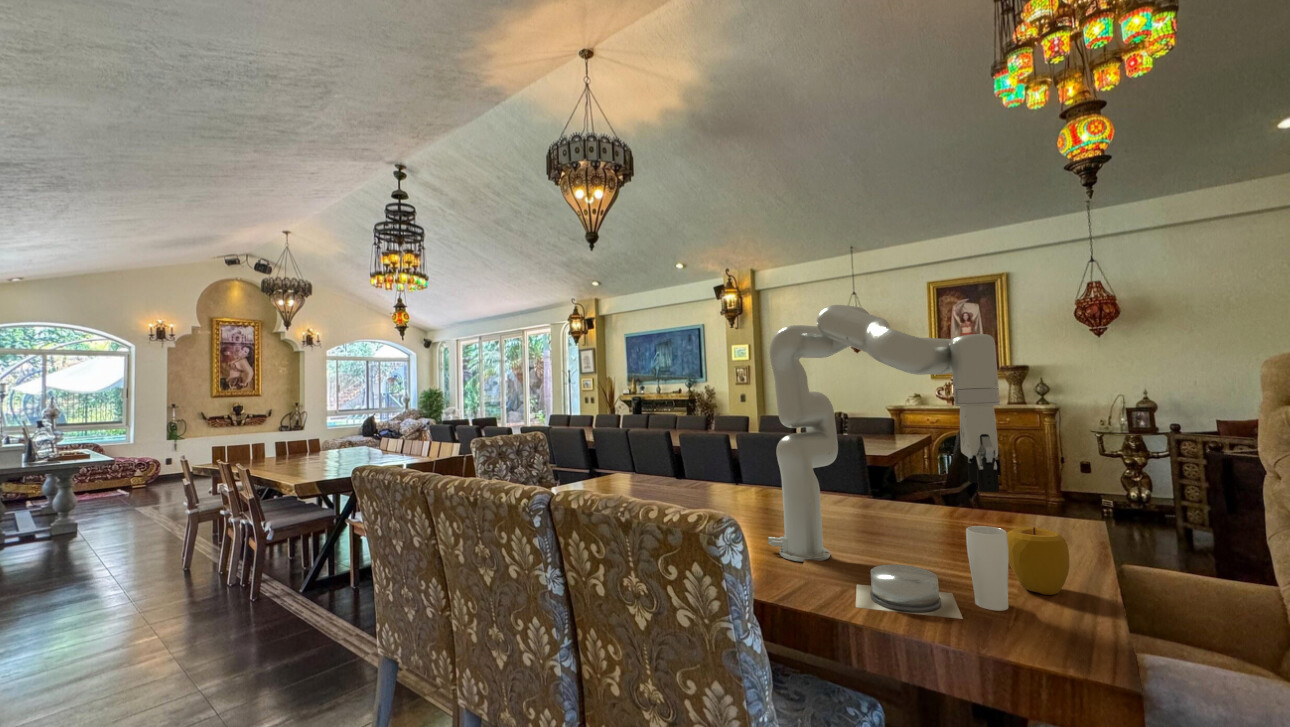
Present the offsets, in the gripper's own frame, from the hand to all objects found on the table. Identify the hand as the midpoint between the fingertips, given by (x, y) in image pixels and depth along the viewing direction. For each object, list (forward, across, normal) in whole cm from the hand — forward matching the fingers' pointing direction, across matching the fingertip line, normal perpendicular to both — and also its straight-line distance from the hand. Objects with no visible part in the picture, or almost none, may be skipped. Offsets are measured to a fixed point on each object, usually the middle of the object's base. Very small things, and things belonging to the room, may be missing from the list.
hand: (983, 487), depth 104 cm
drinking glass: (+23, 0, 0) cm, 23 cm away
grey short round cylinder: (+22, +2, -15) cm, 27 cm away
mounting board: (+23, +2, -15) cm, 28 cm away
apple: (+23, -14, +11) cm, 29 cm away
